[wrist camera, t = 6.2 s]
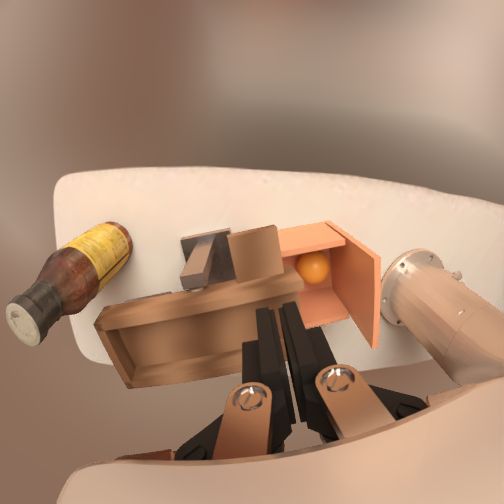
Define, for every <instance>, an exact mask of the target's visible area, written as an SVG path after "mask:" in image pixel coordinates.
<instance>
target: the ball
mask: <svg viewBox="0 0 504 504" xmlns="http://www.w3.org/2000/svg"><path fill="white" fill-rule="evenodd" d="M329 271H330V263H329V260H328V259H327V257H326V256H325V255H324V254H323V253H321V252H319V251H312V252H307V253H304V254H303V255H302V256H301V257H300V258H299V260H298V262H297V273H298V274H299V275H300V276H301V278H302V279H303V280H304V282H306V283H309V284H318V283H320V282H322V281H324V280H325V279H326V277H327V276H328V274H329Z"/></svg>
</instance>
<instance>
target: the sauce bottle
mask: <svg viewBox="0 0 504 504" xmlns="http://www.w3.org/2000/svg"><path fill="white" fill-rule="evenodd" d="M131 250H132V241H131V238H130V236H129V234H128V232H127V230H126V229H125V228H124V227H123V226H121V225H119V224H118V223H115V222H106V223H103V224H99V225H97V226H95V227H93V228H92V229H90V230H88V231H87V232H85V233H83V234H82V235H80V236H79V237H77V238H75V239H74V240H73V241H71V242H69V243H68V244H66V245H65V246H63V247H62V248H60V249H59V250H57V251H56V252H55V253H53V254H52V255H51V256H50V257H49V258H48V260H47V261H46V263H45V265H44V266H43V268H42V270H41V272H40V274H39V276H38V278H37V280H36V281H35V283H34V284H33V285H32V286H31V288H29V289H28V290H27V291H26V292H24V293H23V294H22V295H18V296H16V297H14V298H13V300H12V301H11V302H9V304H8V305H7V308H6V318H7V321H8V324H9V326H10V327H11V329H12V331H13V332H14V333H15V335H16V336H17V337H18V338H19V339H20V340H21V341H22V342H24V343H25V344H27V345H29V346H37V345H39V344H40V343H41V342H42V341H43V339H44V338H45V337H46V336H47V333H48V330H49V328H50V327H51V326H52V325H53V324H54V323H55V322H56V321H58V320H59V319H60V317H61V316H64V315H72V314H77V313H79V312H81V310H83V309H84V308H85V307H86V305H87V304H88V303H89V302H90V301H91V300H92V299H93V298H95V296H96V295H97V294H98V293H99V292H100V291H101V290H102V288H103V287H104V286H105V285H106V284H107V283H108V282H109V281H110V279H111V278H112V277H113V276H114V275H115V274H116V273H117V272H118V271H119V270H120V268H121V267H122V266H123V265H124V264H125V263H126V261H127V259H128V258H129V256H130V253H131Z"/></svg>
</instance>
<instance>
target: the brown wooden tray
mask: <svg viewBox="0 0 504 504" xmlns="http://www.w3.org/2000/svg"><path fill="white" fill-rule="evenodd" d="M227 238H228V243H229V247H230V252H231V256H232V261H233V265H234V270H235V274H236V279H235V280H231V281H226V282H222V283H217V284H213V285H208V286H202V287H196V288H190V289H189V290H185V291H181V292H176V293H171V292H166V293H162V294H157V295H152V296H147V297H142V298H137V299H132V300H128V301H125V303H122V304H117V305H112V306H107V307H104V309H103V310H102V312H101V313H100V315H99V316H98V318H97V319H96V321H95V322H94V327H95V329H96V331H97V333H98V335H99V337H100V339H101V341H102V343H103V345H104V347H105V349H106V351H107V353H108V355H109V357H110V358H111V360H112V362H113V364H114V366H115V367H116V369H117V371H118V373H119V375H120V376H121V378H122V380H123V382H124V383H125V385H126V386H127V388H128V389H132V388H142V387H152V386H160V385H168V384H175V383H183V382H189V381H195V380H201V379H207V378H212V377H218V376H224V375H229V374H234V373H238V372H242V342H247V341H253V340H258V333H257V322H256V311H255V309H258V308H263V307H268V308H269V310H271V309H274V312H275V316H276V321H277V326H278V331H279V335H280V340H281V345H282V350H283V355H284V359H285V361H288V360H287V355H286V349H285V344H284V338H283V333H282V327H281V322H280V316H279V311H278V308H280V307H283V305H282V304H283V303H288V302H292V301H295V302H296V304H297V307H298V310H299V312H300V304H299V296H298V291H299V290H303V289H304V280H303V279H302V278H301V276H300V275H299V274H298V273H297V271H296V270H295V269H294V268H293V266H291V267H287V268H283V262H282V256H281V250H280V243H279V237H278V231H277V227H276V226H275V225H270V226H266V227H261V228H256V229H252V230H247V231H242V232H238V233H233V234H229V235H227ZM300 315H301V312H300Z"/></svg>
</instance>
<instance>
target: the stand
mask: <svg viewBox="0 0 504 504" xmlns="http://www.w3.org/2000/svg"><path fill="white" fill-rule="evenodd" d="M229 234H231V230H230V228H227V229H222V230H217V231H212V232H207V233H202V234H197V235H192V236H188V237H183V238H182V239H181V244H182V248H183V252H184V255H185V259H186V265H185V267H184V269H183V271H182V273H181V275H180V279H181V283H182V286H183V289H184V290H185V289H190V288H196V287H202V286H208V285H213V284H217V283H222V282H226V281H231V280H235V279H236V274H235V270H234V265H233V261H232V256H231V252H230V247H229V243H228V238H227V235H229Z"/></svg>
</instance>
